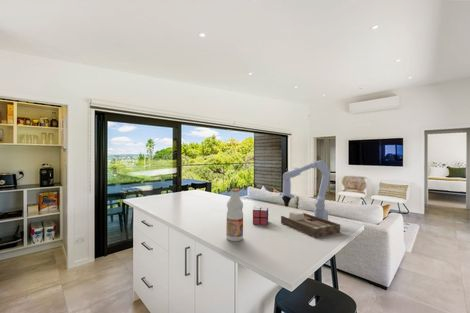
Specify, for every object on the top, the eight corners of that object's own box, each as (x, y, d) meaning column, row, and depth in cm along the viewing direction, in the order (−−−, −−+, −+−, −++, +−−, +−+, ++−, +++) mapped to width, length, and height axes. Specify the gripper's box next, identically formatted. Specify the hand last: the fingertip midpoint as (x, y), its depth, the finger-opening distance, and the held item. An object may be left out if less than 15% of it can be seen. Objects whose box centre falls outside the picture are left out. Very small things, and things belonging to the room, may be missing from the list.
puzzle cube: (267, 225, 151) (267, 210, 151) (252, 224, 153) (252, 209, 153) (268, 221, 161) (268, 207, 161) (254, 220, 163) (254, 206, 163)
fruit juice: (224, 236, 130) (225, 188, 130) (240, 235, 132) (241, 187, 132) (228, 242, 121) (228, 190, 120) (244, 240, 123) (245, 190, 123)
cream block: (296, 216, 162) (297, 211, 162) (303, 219, 156) (304, 213, 156) (289, 217, 159) (289, 212, 159) (296, 220, 153) (296, 214, 153)
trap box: (303, 219, 166) (303, 212, 166) (339, 232, 138) (340, 224, 138) (281, 223, 156) (281, 215, 156) (315, 237, 128) (315, 229, 128)
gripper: (276, 187, 172) (276, 204, 172) (288, 189, 159) (288, 208, 159) (283, 186, 175) (283, 203, 175) (296, 189, 162) (296, 207, 162)
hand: (286, 206), depth 167 cm, fingers closed
